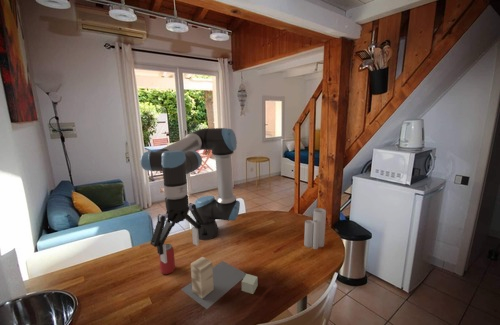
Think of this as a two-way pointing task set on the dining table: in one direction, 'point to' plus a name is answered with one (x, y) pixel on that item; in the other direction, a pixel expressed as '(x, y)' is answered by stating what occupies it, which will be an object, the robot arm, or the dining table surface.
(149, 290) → the dining table surface
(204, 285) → the beech block
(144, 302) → the dining table surface
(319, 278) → the dining table surface
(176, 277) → the dining table surface
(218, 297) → the rubber mat
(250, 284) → the sage cube
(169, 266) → the beer can
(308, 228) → the vase
